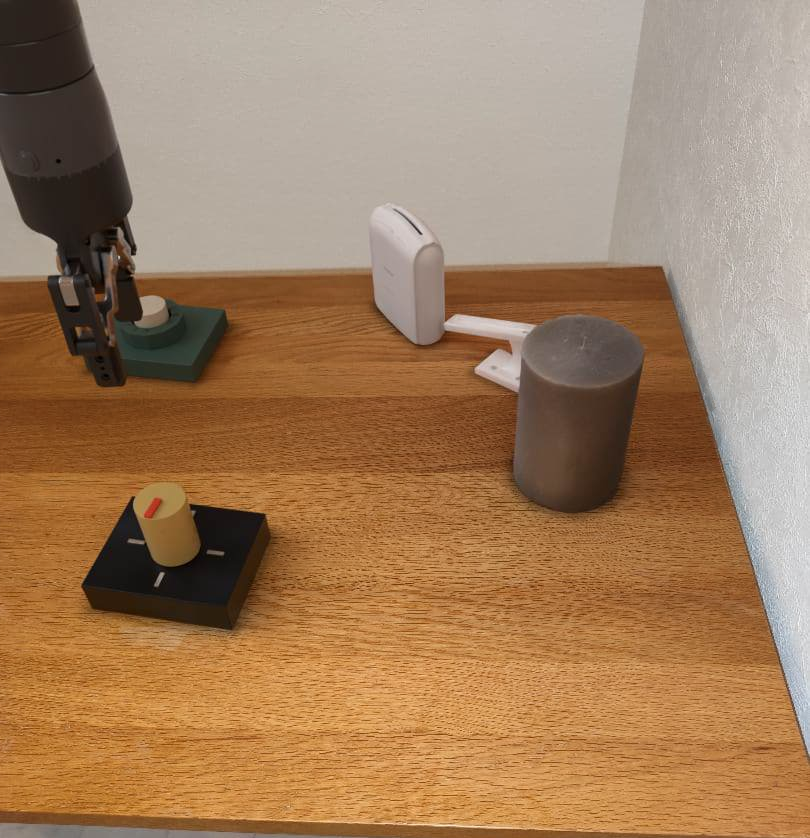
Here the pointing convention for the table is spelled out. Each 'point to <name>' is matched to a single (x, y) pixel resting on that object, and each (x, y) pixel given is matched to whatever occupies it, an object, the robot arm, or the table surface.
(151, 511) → the lock knob
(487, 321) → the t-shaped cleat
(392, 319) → the photo printer
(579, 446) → the pillar candle
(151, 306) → the bell button
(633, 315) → the table surface
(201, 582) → the plate
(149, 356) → the block
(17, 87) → the robot arm
